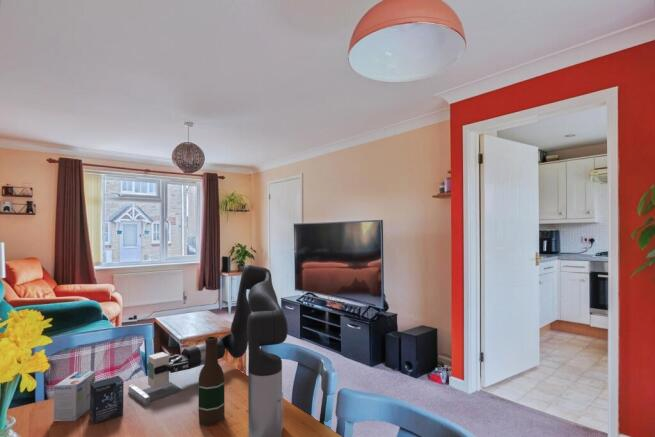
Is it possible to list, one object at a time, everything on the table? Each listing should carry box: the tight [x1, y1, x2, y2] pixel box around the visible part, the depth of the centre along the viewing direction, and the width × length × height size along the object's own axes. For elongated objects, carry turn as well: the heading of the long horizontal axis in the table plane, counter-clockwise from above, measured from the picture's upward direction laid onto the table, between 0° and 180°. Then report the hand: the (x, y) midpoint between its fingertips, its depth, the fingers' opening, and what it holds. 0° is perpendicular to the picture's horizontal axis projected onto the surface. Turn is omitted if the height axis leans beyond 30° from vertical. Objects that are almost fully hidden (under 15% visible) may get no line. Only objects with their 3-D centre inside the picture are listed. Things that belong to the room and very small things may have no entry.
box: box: [89, 375, 125, 425], centre depth 112 cm, size 8×6×11 cm
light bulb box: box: [53, 370, 96, 422], centre depth 114 cm, size 11×7×11 cm, turn 5°
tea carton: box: [147, 351, 170, 389], centre depth 128 cm, size 5×5×10 cm
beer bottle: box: [197, 336, 226, 427], centre depth 110 cm, size 8×8×24 cm
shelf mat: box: [141, 381, 183, 402], centre depth 128 cm, size 12×10×1 cm
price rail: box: [128, 384, 151, 407], centre depth 124 cm, size 2×14×2 cm, turn 48°
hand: (151, 369), depth 127 cm, fingers closed on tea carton, 5 cm apart
